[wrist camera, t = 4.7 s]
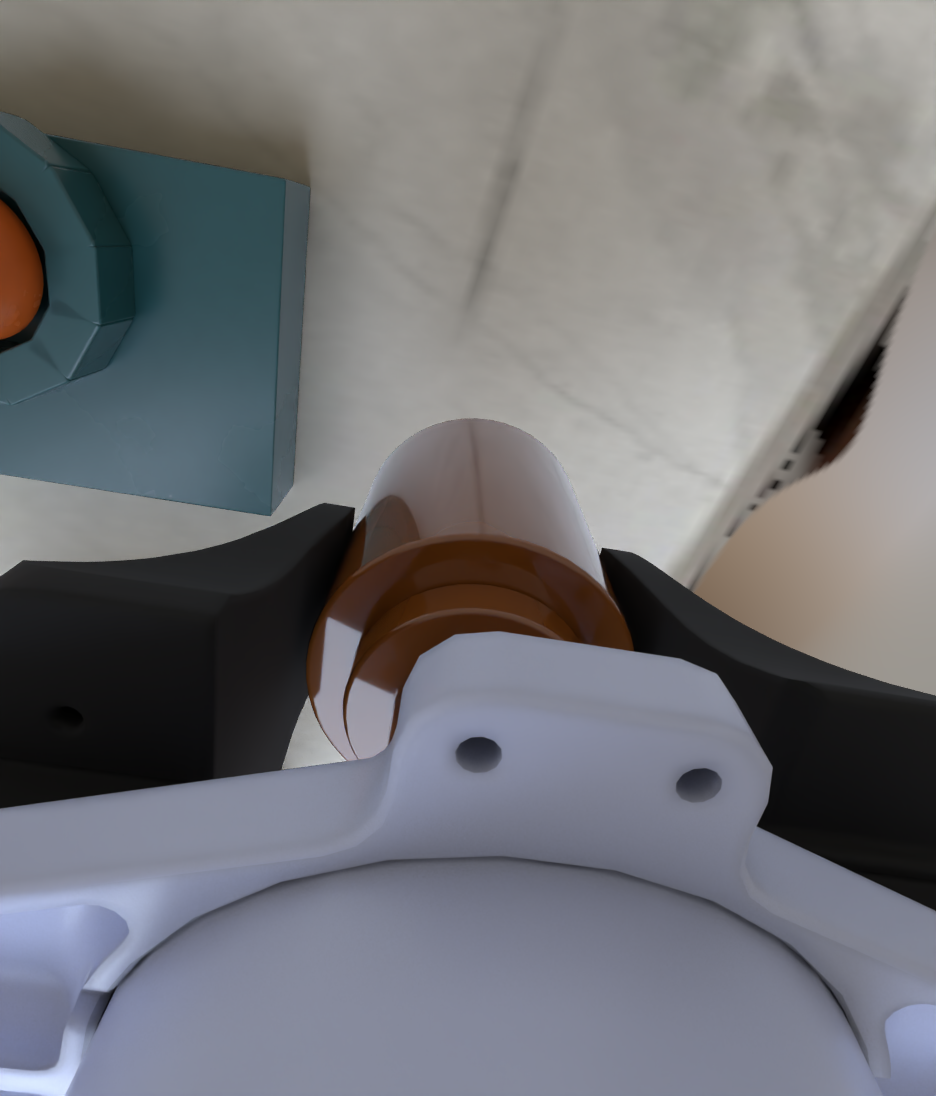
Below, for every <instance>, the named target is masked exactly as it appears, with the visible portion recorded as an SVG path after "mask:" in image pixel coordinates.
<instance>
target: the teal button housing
mask: <svg viewBox="0 0 936 1096" xmlns="http://www.w3.org/2000/svg"><path fill="white" fill-rule="evenodd" d="M0 199H1V200H2V201H3V202H5V203H6V204H7V205H8V206H9V207H10V208H11V209H12V210H13V211H14V213H15V214H16V215H17V216H18V218H19V219H20V220H21V221H22V223H23V224H24V226H25V227H26V229H27V230H28V232H29V234H30V235H31V237H32V239H33V241H34V243H35V246H36V248H37V251H38V253H39V257H40V260H41V264H42V270H43V282H44V286H43V295H42V299H41V304H40V306H39V308H38V311H37V313H36V315H35V316H34V318H33V319H32V321H31V322H30V323H29V324H28V325H27V326H26V327H25V328H24V329H23V330H21V331H20V332H19V333H17V334H15V335H13V336H11V337H8V338H5V339H1V340H0V474H2V475H9V476H15V477H22V478H28V479H35V480H41V481H47V482H54V483H60V484H67V485H73V486H79V487H86V488H92V489H99V490H105V491H112V492H118V493H124V494H131V495H137V496H144V497H150V498H157V499H163V500H169V501H176V502H182V503H189V504H195V505H201V506H208V507H214V508H221V509H227V510H234V511H240V512H246V513H253V514H259V515H266V516H271V515H272V514H273V512H274V511H275V510H276V508H277V507H278V505H279V504H280V503H281V501H282V500H283V499H284V497H285V496H286V495H287V493H288V492H289V490H290V489H291V488H292V486H293V476H294V459H295V442H296V425H297V408H298V391H299V373H300V356H301V339H302V322H303V305H304V288H305V271H306V253H307V236H308V219H309V202H310V187H309V186H306V185H303V184H300V183H297V182H293V181H290V180H287V179H284V178H279V177H273V176H268V175H263V174H257V173H252V172H247V171H241V170H236V169H231V168H225V167H220V166H215V165H209V164H204V163H199V162H193V161H188V160H183V159H177V158H172V157H167V156H161V155H156V154H151V153H145V152H140V151H135V150H130V149H124V148H119V147H114V146H108V145H103V144H98V143H92V142H87V141H82V140H76V139H71V138H66V137H60V136H55V135H50V134H44V133H42V132H41V131H40V130H38V129H37V128H36V127H35V126H33V125H32V124H31V123H30V122H28V121H27V120H25V119H22V118H20V117H19V116H15V115H12V114H8V113H4V112H1V111H0Z"/></svg>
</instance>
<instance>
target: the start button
mask: <svg viewBox="0 0 936 1096" xmlns="http://www.w3.org/2000/svg"><path fill="white" fill-rule="evenodd" d="M43 286H44V282H43V270H42V264H41V260H40V257H39V253H38V251H37V248H36V246H35V243H34V241H33V239H32V237H31V235H30V234H29V232H28V230H27V229H26V227H25V226H24V224H23V223H22V221H21V220H20V219H19V218H18V216H17V215H16V214H15V213H14V211H13V210H12V209H11V208H10V207H9V206H8V205H7V204H6V203H5V202H3V201H2V200H1V199H0V340H1V339H5V338H8V337H11V336H13V335H15V334H17V333H19V332H20V331H21V330H23V329H24V328H25V327H26V326H27V325H28V324H29V323H30V322H31V321H32V319H33V318H34V316H35V315H36V313H37V311H38V308H39V306H40V304H41V299H42V295H43Z"/></svg>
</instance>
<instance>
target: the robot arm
mask: <svg viewBox="0 0 936 1096" xmlns="http://www.w3.org/2000/svg"><path fill="white" fill-rule="evenodd" d="M354 513H355V508H352V507H346V506H340V505H334V504H328V503H323V504H319V505H317V506H315V507H312V508H310V509H308V510H306V511H304V512H302V513H300V514H298V515H296V516H293V517H291V518H289V519H287V520H285V521H283V522H281V523H278V524H276V525H274V526H271V527H269V528H266V529H264V530H261V531H259V532H256V533H254V534H251V535H249V536H246V537H244V538H241V539H238V540H235V541H232V542H228V543H225V544H221V545H217V546H214V547H210V548H206V549H202V550H197V551H192V552H186V553H180V554H174V555H168V556H162V557H156V558H147V559H136V560H124V561H105V562H58V561H27V560H23V561H22V562H20V563H19V564H17V565H16V566H15V567H13V568H12V569H10V570H9V571H8V572H6V573H5V574H3V575H2V576H1V577H0V1096H936V696H935V695H931V694H927V693H923V692H919V691H915V690H911V689H908V688H904V687H900V686H896V685H892V684H889V683H886V682H882V681H879V680H876V679H873V678H870V677H867V676H864V675H861V674H857V673H855V672H851V671H848V670H846V669H843V668H840V667H837V666H835V665H832V664H829V663H826V662H824V661H821V660H819V659H817V658H814V657H812V656H809V655H807V654H804V653H802V652H800V651H797V650H795V649H793V648H790V647H788V646H786V645H784V644H781V643H779V642H777V641H775V640H773V639H771V638H769V637H767V636H765V635H763V634H761V633H759V632H757V631H755V630H754V629H752V628H750V627H748V626H746V625H743V624H742V623H740V622H738V621H737V620H735V619H733V618H732V617H730V616H728V615H727V614H725V613H724V612H722V611H720V610H719V609H717V608H716V607H714V606H712V605H711V604H709V603H707V602H706V601H704V600H703V599H702V598H700V597H699V596H697V595H696V594H694V593H693V592H691V591H690V590H688V589H687V588H685V587H684V586H683V585H681V584H680V583H678V582H677V581H676V580H674V579H673V578H671V577H670V576H668V575H667V574H666V573H664V572H663V571H661V570H660V569H659V568H657V567H656V566H654V565H653V564H651V563H650V562H648V561H647V560H645V559H643V558H642V557H640V556H638V555H636V554H634V553H631V552H625V551H619V550H613V549H607V548H602V550H601V553H600V557H601V560H602V562H603V565H604V567H605V570H606V572H607V575H608V577H609V580H610V582H611V585H612V587H613V590H614V592H615V595H616V597H617V600H618V602H619V605H620V607H621V610H622V612H623V615H624V617H625V620H626V622H627V625H628V627H629V630H630V632H631V635H632V639H633V643H634V648H635V652H633V651H626V650H620V649H613V648H607V647H600V646H593V645H587V644H580V643H574V642H567V641H560V640H554V639H547V638H541V637H534V636H527V635H521V634H514V633H508V632H501V631H495V632H482V633H468V634H455V635H453V636H452V637H450V638H448V639H447V640H445V641H443V642H442V643H440V644H438V645H437V646H435V647H433V648H432V649H430V650H428V651H427V652H425V653H423V654H422V655H420V656H419V658H418V660H417V662H416V664H415V665H414V667H413V669H412V671H411V673H410V675H409V677H408V679H407V681H406V683H405V685H404V687H403V691H402V697H401V703H400V709H399V716H398V722H397V726H396V729H395V732H394V735H393V738H392V741H391V742H390V743H389V745H388V746H387V747H386V749H385V750H384V751H382V752H380V753H379V754H377V755H375V756H374V757H371V758H366V759H359V760H352V761H345V762H337V763H330V764H323V765H315V766H308V767H301V768H293V769H286V770H281V768H282V765H283V762H284V759H285V755H286V752H287V749H288V746H289V743H290V739H291V736H292V733H293V730H294V728H295V725H296V723H297V720H298V717H299V715H300V712H301V710H302V708H303V706H304V704H305V701H306V699H307V697H308V689H307V683H306V655H307V648H308V642H309V639H310V636H311V633H312V630H313V627H314V624H315V621H316V619H317V617H318V614H319V612H320V609H321V607H322V605H323V602H324V600H325V597H326V595H327V592H328V590H329V588H330V585H331V583H332V580H333V578H334V576H335V573H336V571H337V568H338V566H339V564H340V561H341V559H342V556H343V554H344V551H345V549H346V547H347V544H348V542H349V539H350V537H351V535H352V532H353V522H354Z"/></svg>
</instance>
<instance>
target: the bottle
mask: <svg viewBox="0 0 936 1096" xmlns="http://www.w3.org/2000/svg"><path fill="white" fill-rule="evenodd" d="M495 631H501V632H508V633H514V634H521V635H527V636H534V637H541V638H547V639H554V640H560V641H567V642H574V643H580V644H587V645H593V646H600V647H607V648H613V649H620V650H626V651H633V652H635V648H634V643H633V639H632V635H631V632H630V630H629V627H628V625H627V622H626V620H625V617H624V615H623V612H622V610H621V607H620V605H619V602H618V600H617V597H616V595H615V592H614V590H613V587H612V585H611V582H610V580H609V577H608V575H607V572H606V570H605V567H604V565H603V562H602V560H601V557H600V555H599V552H598V550H597V547H596V545H595V542H594V540H593V537H592V535H591V532H590V530H589V527H588V525H587V522H586V520H585V517H584V515H583V512H582V510H581V507H580V505H579V502H578V500H577V497H576V495H575V492H574V490H573V487H572V485H571V482H570V480H569V477H568V475H567V473H566V472H565V470H564V468H563V466H562V465H561V463H560V462H559V461H558V459H557V458H556V457H555V456H554V454H553V453H552V452H551V451H550V450H549V449H548V448H547V447H546V446H545V445H544V444H543V443H541V442H540V441H538V440H537V439H536V438H534V437H533V436H532V435H530V434H528V433H526V432H524V431H522V430H521V429H519V428H516V427H514V426H511V425H508V424H506V423H502V422H498V421H493V420H487V419H477V418H473V419H457V420H451V421H446V422H442V423H439V424H435V425H432V426H430V427H428V428H426V429H423V430H421V431H419V432H418V433H416V434H414V435H413V436H411V437H409V438H408V439H407V440H405V441H404V442H403V443H402V444H400V445H399V446H398V447H397V448H396V449H395V450H394V451H393V452H392V453H391V454H390V455H389V457H388V458H387V459H386V461H385V462H384V463H383V465H382V466H381V468H380V469H379V471H378V473H377V475H376V477H375V479H374V481H373V484H372V486H371V489H370V491H369V494H368V496H367V498H366V501H365V503H364V506H363V508H362V510H361V513H360V515H359V518H358V520H357V522H356V525H355V527H354V530H353V532H352V535H351V537H350V539H349V542H348V544H347V547H346V549H345V551H344V554H343V556H342V559H341V561H340V564H339V566H338V568H337V571H336V573H335V576H334V578H333V580H332V583H331V585H330V588H329V590H328V592H327V595H326V597H325V600H324V602H323V605H322V607H321V609H320V612H319V614H318V617H317V619H316V621H315V624H314V627H313V630H312V633H311V636H310V639H309V642H308V648H307V655H306V683H307V689H308V695H309V698H310V701H311V705H312V708H313V711H314V714H315V716H316V718H317V720H318V722H319V724H320V726H321V728H322V730H323V732H324V733H325V735H326V736H327V738H328V739H329V741H330V742H331V744H332V745H333V746H334V747H335V748H336V750H337V751H338V752H339V753H340V754H341V755H342V756H343V757H344V758H345V759H346V760H347V761H352V760H359V759H366V758H371V757H374V756H375V755H377V754H379V753H380V752H382V751H384V750H385V749H386V747H387V746H388V745H389V743H390V742H391V741H392V738H393V735H394V732H395V729H396V726H397V722H398V716H399V709H400V703H401V697H402V691H403V687H404V685H405V683H406V681H407V679H408V677H409V675H410V673H411V671H412V669H413V667H414V665H415V664H416V662H417V660H418V658H419V656H420V655H422V654H423V653H425V652H427V651H428V650H430V649H432V648H433V647H435V646H437V645H438V644H440V643H442V642H443V641H445V640H447V639H448V638H450V637H452V636H453V635H455V634H468V633H482V632H495Z"/></svg>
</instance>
